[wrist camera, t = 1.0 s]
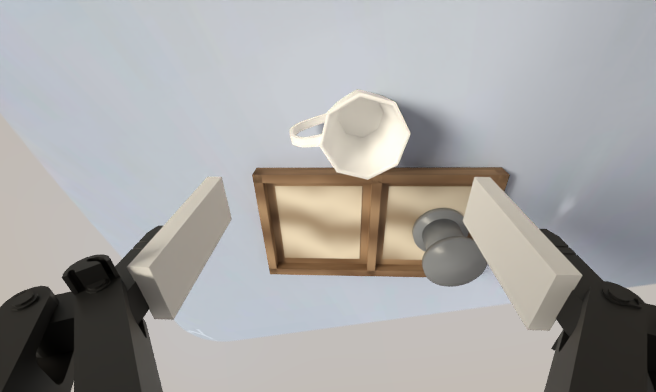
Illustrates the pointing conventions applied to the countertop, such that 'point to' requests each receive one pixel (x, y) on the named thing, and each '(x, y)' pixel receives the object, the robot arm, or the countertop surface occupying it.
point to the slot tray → (355, 217)
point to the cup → (358, 134)
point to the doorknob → (447, 248)
